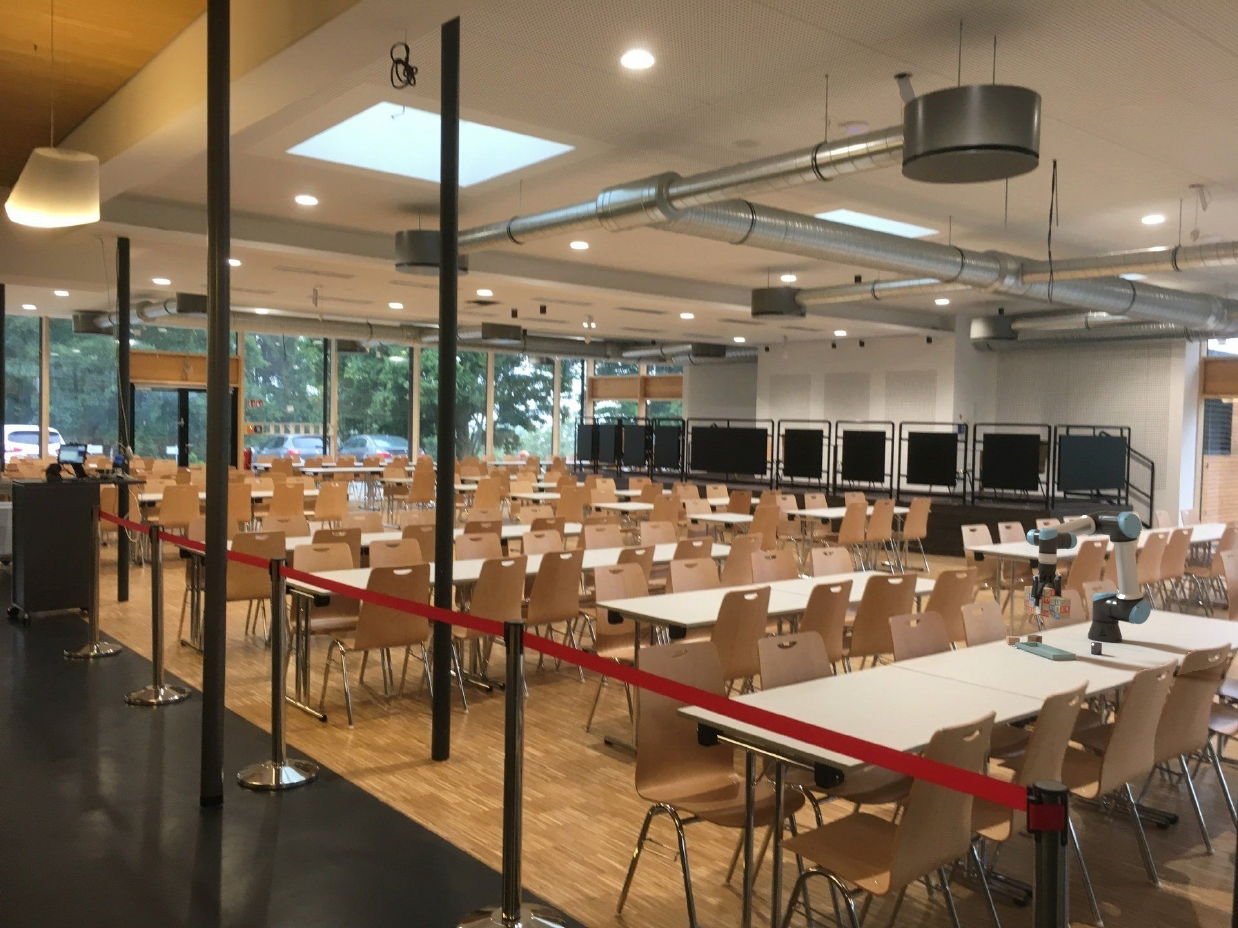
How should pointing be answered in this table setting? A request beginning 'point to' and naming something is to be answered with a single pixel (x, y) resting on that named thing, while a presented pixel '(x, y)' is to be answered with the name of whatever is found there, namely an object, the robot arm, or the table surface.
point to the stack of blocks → (1048, 604)
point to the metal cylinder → (1096, 648)
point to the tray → (1045, 651)
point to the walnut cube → (1034, 638)
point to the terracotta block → (1012, 640)
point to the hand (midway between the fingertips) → (1045, 613)
